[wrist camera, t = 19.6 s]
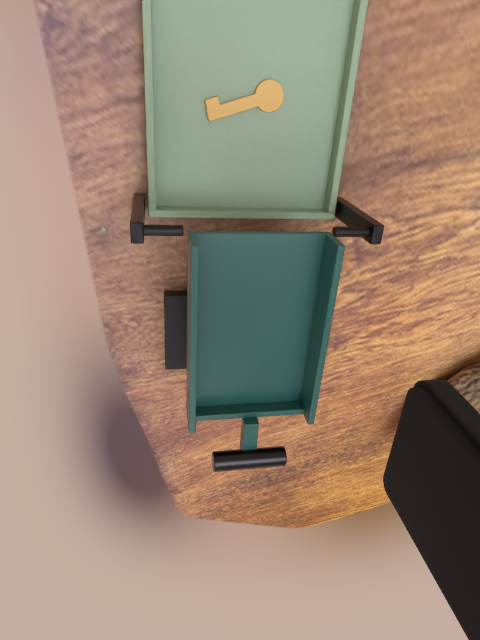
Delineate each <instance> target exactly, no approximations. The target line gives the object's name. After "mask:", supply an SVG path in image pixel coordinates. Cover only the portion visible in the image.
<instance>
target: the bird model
mask: <svg viewBox="0 0 480 640" xmlns="http://www.w3.org/2000/svg"><path fill="white" fill-rule="evenodd" d="M447 381H448V382H449V383H451V384H452V386H453V387H454V388H455V389H456V390H457V391H458V392H459V393H460V394H461V395H462V396H463V397H464V398H465V399H466V400H467V401H468V402H469V403H470V404H471V405H472V406H473V407H474V408H475V409H476V410H477V411H478V413H479V414H480V362H479V363H476V364H474V365H472V366H470V367H467V368H465V369H463V370H462V371H460V372H459V373H457V374H456V375H454V376H453V377H451V378H450V379H449V380H447Z"/></svg>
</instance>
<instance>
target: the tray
mask: <svg viewBox="0 0 480 640" xmlns="http://www.w3.org/2000/svg"><path fill="white" fill-rule="evenodd" d="M367 7H368V0H142V23H143V54H144V84H145V115H146V145H147V176H148V206H149V217H163V218H239V219H315V220H334V215H335V213H334V212H335V209H336V202H337V196H338V190H339V183H340V177H341V171H342V164H343V158H344V152H345V145H346V139H347V133H348V127H349V120H350V114H351V108H352V101H353V95H354V89H355V82H356V76H357V70H358V63H359V57H360V51H361V44H362V38H363V32H364V25H365V19H366V13H367ZM266 79H272V80H275V81H277V82H278V83H279V84H280V85H281V86H282V88H283V91H284V99H283V103H282V105H281V106H280V107H279V108H278V109H277V110H276V111H274V112H264V111H262V110H260V109H259V108H258V107H255V108H252V109H249V110H246V111H243V112H239V113H236V114H233V115H230V116H227V117H223V118H220V119H217V120H214V121H211V122H209V121H208V117H207V113H206V110H205V109H206V105H205V101H204V100H205V99H208V98H211V97H214V96H218V99H219V103H220V104H222V103H225V102H229V101H232V100H235V99H238V98H241V97H245V96H248V95H251V94H254V92H255V89H256V87H257V85H258V84H259V83H260V82H262V81H263V80H266Z"/></svg>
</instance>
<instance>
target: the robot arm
mask: <svg viewBox="0 0 480 640" xmlns="http://www.w3.org/2000/svg"><path fill="white" fill-rule="evenodd" d="M383 482H384V487H385V491H386V493H387V495H388V497H389V498H390V500H391V502H392V504H393V506H394V507H395V509H396V511H397V512H398V514H399V516H400V518H401V520H402V521H403V523H404V525H405V527H406V529H407V530H408V532H409V534H410V536H411V538H412V539H413V541H414V543H415V545H416V547H417V548H418V550H419V552H420V554H421V555H422V557H423V559H424V561H425V563H426V564H427V566H428V568H429V570H430V572H431V573H432V575H433V577H434V579H435V580H436V582H437V584H438V586H439V588H440V589H441V591H442V593H443V594H444V596H445V598H446V600H447V602H448V604H449V605H450V607H451V609H452V611H453V612H454V614H455V616H456V618H457V620H458V621H459V623H460V625H461V627H462V629H463V630H464V632H465V634H466V636H467V637H468V639H469V640H480V414H479V413H478V411H477V410H476V409H475V408H474V407H473V406H472V405H471V404H470V403H469V402H468V401H467V400H466V399H465V398H464V397H463V396H462V395H461V394H460V393H459V392H458V391H457V390H456V389H455V388H454V387H453V386H452V384H451V383H449V382H448V381H447V380H443V379H441V380H423V381H418V382H417V383H416V384H415V386H414V388H410V389H409V390H408V393H407V396H406V399H405V403H404V406H403V410H402V413H401V417H400V420H399V424H398V427H397V431H396V434H395V438H394V441H393V445H392V448H391V452H390V455H389V459H388V462H387V466H386V469H385V473H384V477H383Z"/></svg>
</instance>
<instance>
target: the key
mask: <svg viewBox="0 0 480 640" xmlns="http://www.w3.org/2000/svg"><path fill="white" fill-rule="evenodd" d="M283 99H284V91H283V88H282V86H281V85H280V84H279V83H278V82H277V81H275V80H272V79H266V80H263V81H262V82H260V83H259V84H258V85H257V87H256V89H255V92H254V94H251V95H248V96H245V97H241V98H238V99H235V100H232V101H229V102H225V103H222V104H220V103H219V99H218V96H214V97H211V98H208V99H205V100H204V101H205V105H206V109H205V110H206V113H207V117H208V121H209V122H211V121H214V120H217V119H220V118H223V117H227V116H230V115H233V114H236V113H239V112H243V111H246V110H249V109H252V108H255V107H258V108H259V109H260V110H262V111H264V112H274V111H276V110H277V109H278V108H279V107H280V106H281V105H282V103H283Z"/></svg>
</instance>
